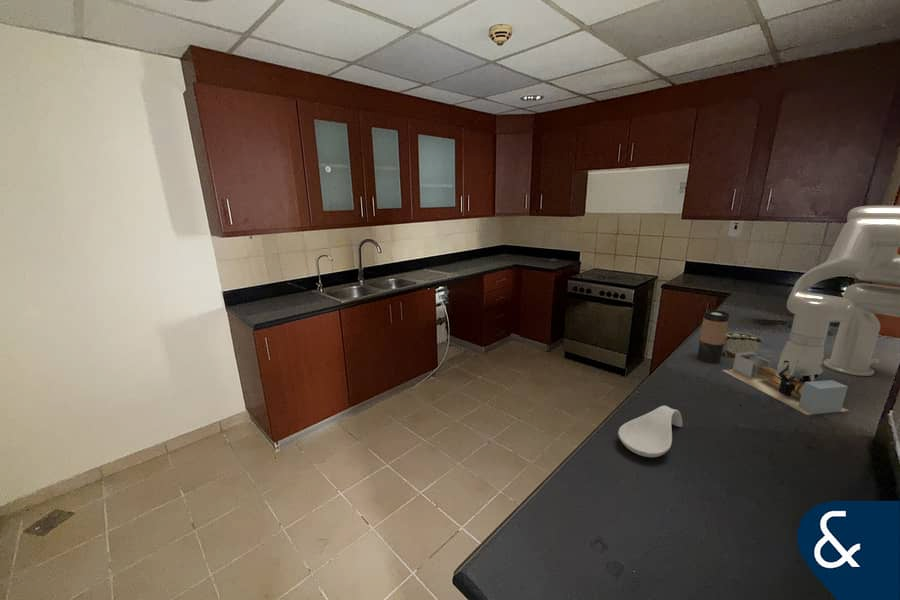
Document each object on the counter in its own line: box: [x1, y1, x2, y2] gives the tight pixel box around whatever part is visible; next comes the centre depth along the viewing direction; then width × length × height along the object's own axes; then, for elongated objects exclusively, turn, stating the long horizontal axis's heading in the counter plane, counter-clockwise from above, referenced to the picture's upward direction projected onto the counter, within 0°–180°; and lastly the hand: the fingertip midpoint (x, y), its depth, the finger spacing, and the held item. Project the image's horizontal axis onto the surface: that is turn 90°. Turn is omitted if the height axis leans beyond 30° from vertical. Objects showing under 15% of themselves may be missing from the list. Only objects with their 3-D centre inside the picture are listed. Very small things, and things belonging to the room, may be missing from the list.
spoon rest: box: [617, 405, 683, 458], centre depth 95 cm, size 24×12×7 cm, turn 128°
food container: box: [724, 331, 764, 359], centre depth 142 cm, size 12×6×10 cm, turn 71°
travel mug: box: [697, 309, 730, 365], centre depth 138 cm, size 8×8×20 cm
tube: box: [758, 366, 804, 396], centre depth 113 cm, size 18×4×4 cm, turn 6°
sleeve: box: [732, 352, 772, 380], centre depth 126 cm, size 7×7×7 cm
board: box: [722, 368, 850, 416], centre depth 118 cm, size 14×29×1 cm, turn 6°
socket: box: [799, 379, 849, 415], centre depth 105 cm, size 9×4×8 cm, turn 96°
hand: (793, 393), depth 113 cm, fingers open, 5 cm apart
